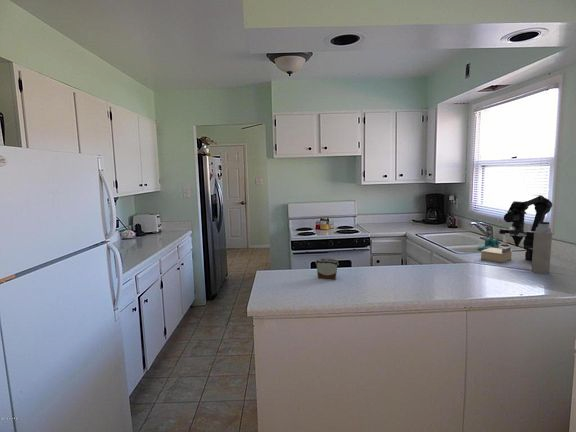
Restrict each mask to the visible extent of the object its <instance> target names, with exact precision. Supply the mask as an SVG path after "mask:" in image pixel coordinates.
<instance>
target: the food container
mask: <svg viewBox="0 0 576 432" xmlns="http://www.w3.org/2000/svg"><path fill="white" fill-rule="evenodd" d="M314 264H315V265H316V274H317V279H318V280H325V281H326V280H328V281H336V280H337V270H338V266H340V265H339V261H338V259H334V258H330V257H329V258H327V257H325V258H323V257H322V258H318V259H316V260H315V262H314Z"/></svg>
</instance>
